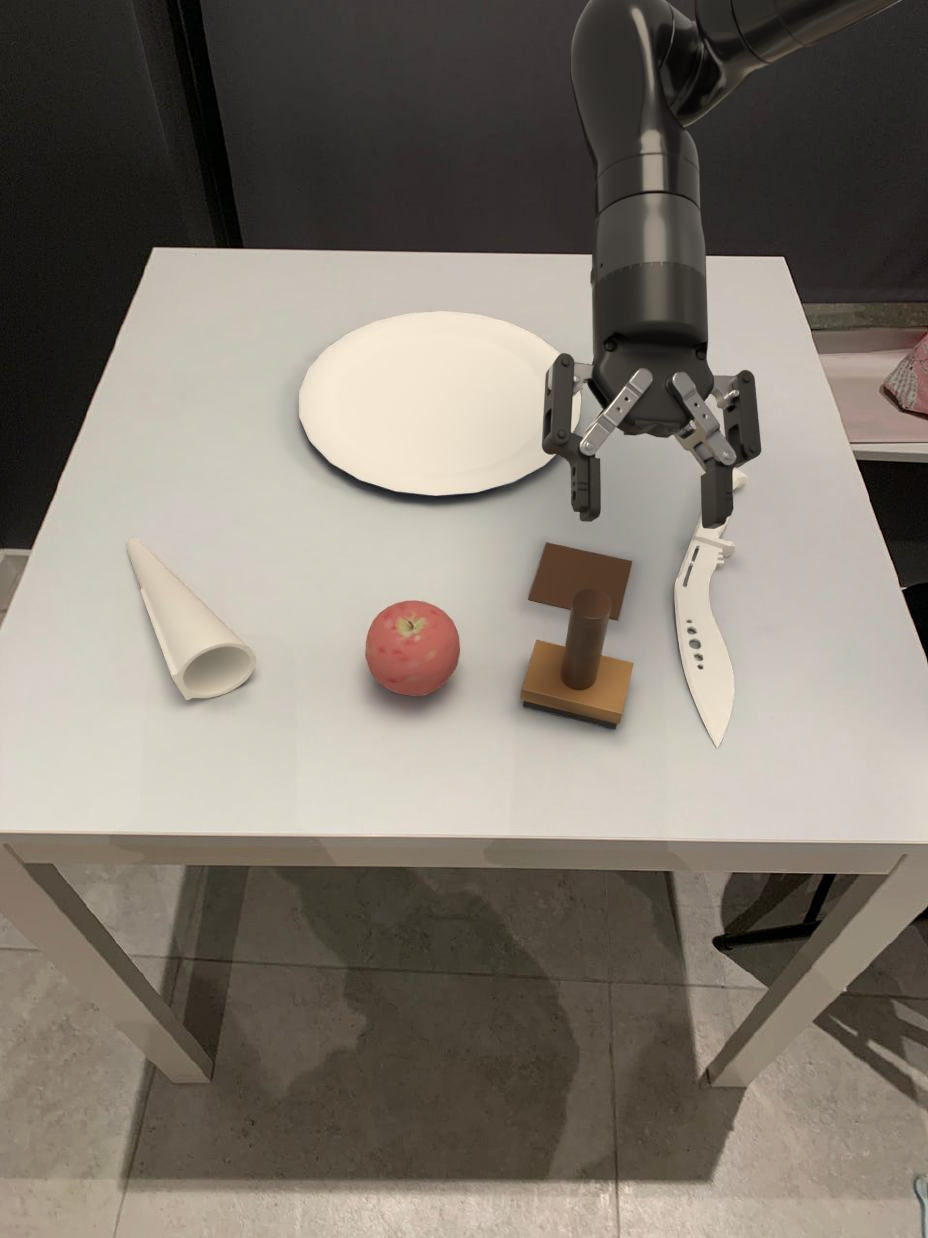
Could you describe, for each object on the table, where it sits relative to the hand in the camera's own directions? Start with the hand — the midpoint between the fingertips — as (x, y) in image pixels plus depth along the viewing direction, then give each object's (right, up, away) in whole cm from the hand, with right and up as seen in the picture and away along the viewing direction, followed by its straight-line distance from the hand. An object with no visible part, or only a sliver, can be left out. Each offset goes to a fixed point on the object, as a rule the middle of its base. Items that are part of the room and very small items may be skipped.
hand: (653, 522), depth 60 cm
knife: (+10, -4, +22) cm, 25 cm away
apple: (-16, -11, +17) cm, 26 cm away
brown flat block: (-2, -3, +23) cm, 23 cm away
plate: (-15, +16, +37) cm, 43 cm away
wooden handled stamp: (-3, -12, +16) cm, 20 cm away
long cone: (-36, -6, +21) cm, 42 cm away
